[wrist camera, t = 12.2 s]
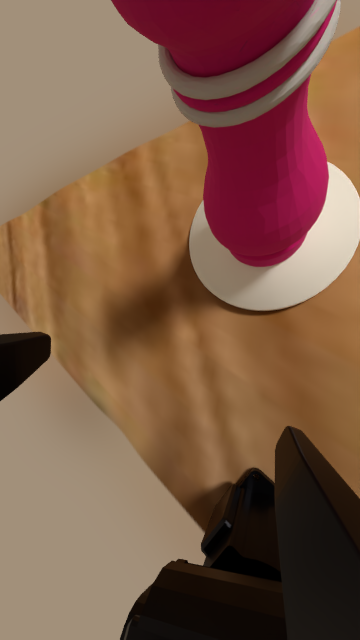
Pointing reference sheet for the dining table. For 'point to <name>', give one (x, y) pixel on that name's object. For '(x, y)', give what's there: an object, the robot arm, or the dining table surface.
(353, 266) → the dining table surface
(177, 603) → the robot arm
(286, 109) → the pepper mill
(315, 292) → the ceramic plate
